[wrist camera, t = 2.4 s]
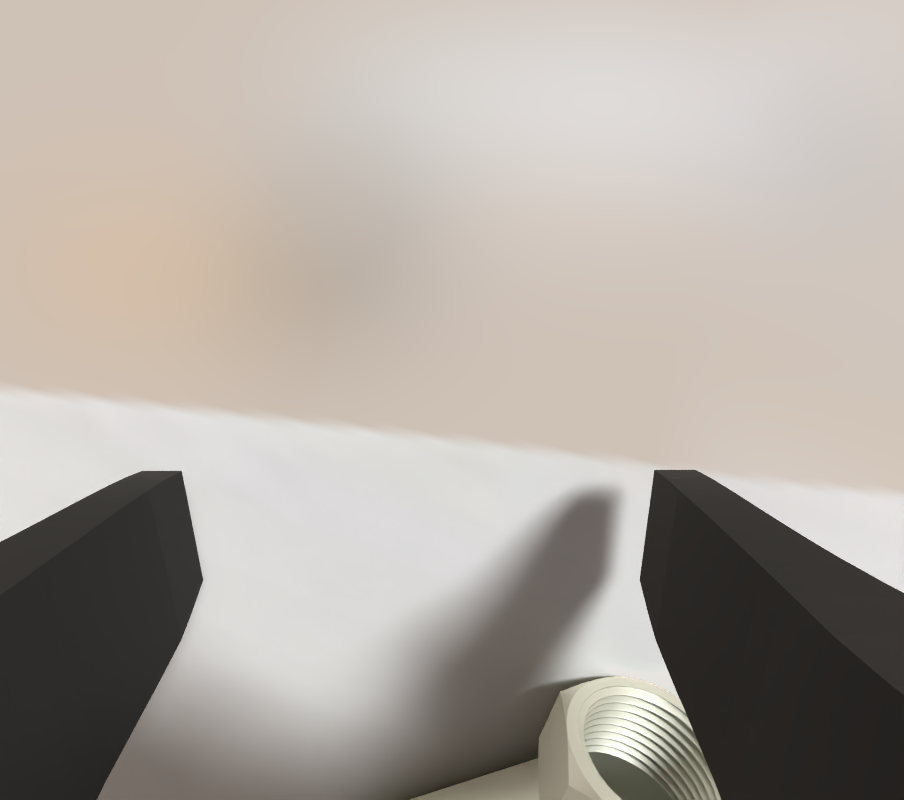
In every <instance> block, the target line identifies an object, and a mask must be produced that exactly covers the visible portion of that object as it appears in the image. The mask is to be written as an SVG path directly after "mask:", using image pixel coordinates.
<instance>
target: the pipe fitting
mask: <svg viewBox="0 0 904 800" xmlns="http://www.w3.org/2000/svg"><path fill="white" fill-rule="evenodd" d="M410 800H721V798H720V795H719V792H718V789H717V787H716V784H715V782H714V779H713V777H712V774H711V772H710V770H709V767H708V765H707V763H706V760H705V758H704V755H703V753H702V751H701V748H700V746H699V743H698V741H697V739H696V736H695V734H694V731H693V729H692V727H691V724H690V722H689V719H688V717H687V715H686V712H685V710H684V707H683V705H682V703H681V700H680V699H679V698H678V697H676V696H675V695H673V694H671V693H669V692H668V691H666V690H664V689H662V688H661V687H659V686H657V685H654V684H652V683H648V682H645V681H642V680H638V679H633V678H629V677H623V676H612V677H605V678H600V679H596V680H592V681H589V682H585V683H581V684H579V685H576V686H573V687H571V688H568V689H566V690H563V691H560V693H559V695H558V697H557V700H556V702H555V704H554V706H553V708H552V710H551V713H550V715H549V717H548V719H547V721H546V723H545V726H544V728H543V730H542V732H541V734H540V736H539V749H538V758H537V759H533V760H530V761H527V762H524V763H521V764H518V765H515V766H512V767H509V768H505V769H502V770H499V771H496V772H493V773H490V774H487V775H484V776H481V777H478V778H474V779H471V780H468V781H465V782H462V783H459V784H456V785H453V786H450V787H447V788H444V789H440V790H437V791H434V792H431V793H428V794H425V795H422V796H419V797H416V798H413V799H410Z"/></svg>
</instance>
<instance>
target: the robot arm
mask: <svg viewBox="0 0 904 800" xmlns="http://www.w3.org/2000/svg"><path fill="white" fill-rule="evenodd" d="M202 582H203V577H202V572H201V567H200V562H199V557H198V552H197V547H196V542H195V537H194V532H193V527H192V521H191V516H190V511H189V506H188V501H187V496H186V491H185V486H184V481H183V476H182V471H141V472H139V473H136V474H134V475H131V476H129V477H126V478H124V479H122V480H120V481H117V482H115V483H113V484H111V485H109V486H107V487H105V488H103V489H101V490H99V491H97V492H95V493H93V494H91V495H89V496H87V497H86V498H84V499H82V500H80V501H78V502H76V503H74V504H72V505H70V506H68V507H67V508H65V509H63V510H61V511H59V512H57V513H55V514H53V515H51V516H49V517H47V518H46V519H44V520H42V521H40V522H38V523H36V524H34V525H32V526H30V527H28V528H27V529H25V530H23V531H21V532H19V533H17V534H15V535H13V536H11V537H9V538H7V539H5V540H3V541H1V542H0V800H97V798H98V796H99V794H100V792H101V790H102V788H103V786H104V783H105V781H106V780H107V778H108V776H109V774H110V772H111V770H112V768H113V767H114V765H115V763H116V761H117V759H118V757H119V755H120V754H121V752H122V750H123V748H124V746H125V744H126V742H127V741H128V739H129V737H130V735H131V733H132V731H133V729H134V728H135V726H136V724H137V722H138V720H139V718H140V716H141V715H142V713H143V711H144V709H145V707H146V705H147V704H148V702H149V700H150V698H151V696H152V694H153V692H154V691H155V689H156V687H157V685H158V683H159V681H160V679H161V677H162V675H163V674H164V672H165V670H166V668H167V666H168V664H169V662H170V660H171V658H172V656H173V655H174V653H175V651H176V649H177V647H178V645H179V643H180V641H181V639H182V636H183V634H184V631H185V628H186V626H187V623H188V621H189V618H190V616H191V613H192V610H193V607H194V604H195V602H196V599H197V596H198V593H199V590H200V587H201V584H202ZM640 582H641V586H642V590H643V594H644V598H645V602H646V606H647V610H648V614H649V618H650V621H651V625H652V628H653V632H654V635H655V639H656V642H657V644H658V647H659V649H660V652H661V654H662V657H663V659H664V662H665V664H666V666H667V669H668V671H669V674H670V676H671V679H672V681H673V684H674V686H675V688H676V691H677V693H678V696H679V698H680V700H681V703H682V705H683V707H684V710H685V712H686V715H687V717H688V719H689V722H690V724H691V727H692V729H693V731H694V734H695V736H696V739H697V741H698V743H699V746H700V748H701V751H702V753H703V755H704V758H705V760H706V763H707V765H708V767H709V770H710V772H711V774H712V777H713V779H714V782H715V784H716V787H717V789H718V792H719V795H720V798H721V800H904V593H903V592H901V591H899V590H897V589H895V588H893V587H891V586H889V585H887V584H885V583H884V582H882V581H880V580H878V579H876V578H875V577H873V576H871V575H869V574H867V573H866V572H864V571H862V570H860V569H859V568H857V567H855V566H853V565H851V564H850V563H848V562H846V561H844V560H842V559H841V558H839V557H837V556H835V555H834V554H832V553H830V552H829V551H827V550H825V549H824V548H822V547H820V546H819V545H817V544H815V543H814V542H812V541H810V540H809V539H807V538H805V537H804V536H802V535H800V534H799V533H797V532H796V531H794V530H792V529H791V528H789V527H788V526H786V525H784V524H783V523H781V522H780V521H778V520H776V519H775V518H773V517H772V516H770V515H769V514H767V513H765V512H764V511H762V510H761V509H759V508H758V507H756V506H754V505H753V504H751V503H750V502H748V501H747V500H745V499H743V498H742V497H740V496H739V495H737V494H736V493H734V492H732V491H731V490H729V489H728V488H726V487H724V486H723V485H721V484H720V483H718V482H716V481H715V480H713V479H711V478H709V477H708V476H706V475H704V474H702V473H700V472H698V471H696V470H654V478H653V485H652V493H651V500H650V508H649V515H648V523H647V530H646V538H645V545H644V552H643V560H642V567H641V575H640Z"/></svg>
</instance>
